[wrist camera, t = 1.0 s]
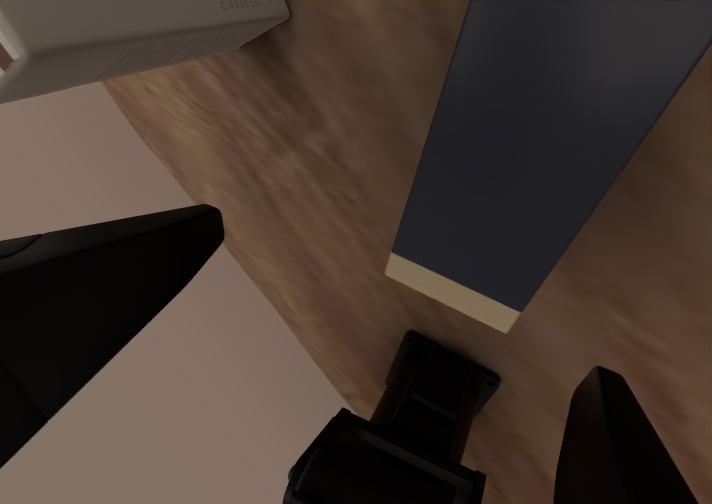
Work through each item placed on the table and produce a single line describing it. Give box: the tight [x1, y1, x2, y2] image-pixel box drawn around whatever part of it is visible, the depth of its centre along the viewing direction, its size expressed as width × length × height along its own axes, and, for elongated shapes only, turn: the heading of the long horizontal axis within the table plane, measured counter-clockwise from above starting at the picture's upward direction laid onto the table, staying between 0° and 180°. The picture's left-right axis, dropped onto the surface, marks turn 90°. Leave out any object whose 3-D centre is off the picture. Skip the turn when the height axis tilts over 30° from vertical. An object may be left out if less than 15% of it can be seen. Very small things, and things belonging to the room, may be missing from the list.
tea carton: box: [385, 0, 712, 334], centre depth 13 cm, size 12×5×6 cm, turn 169°
